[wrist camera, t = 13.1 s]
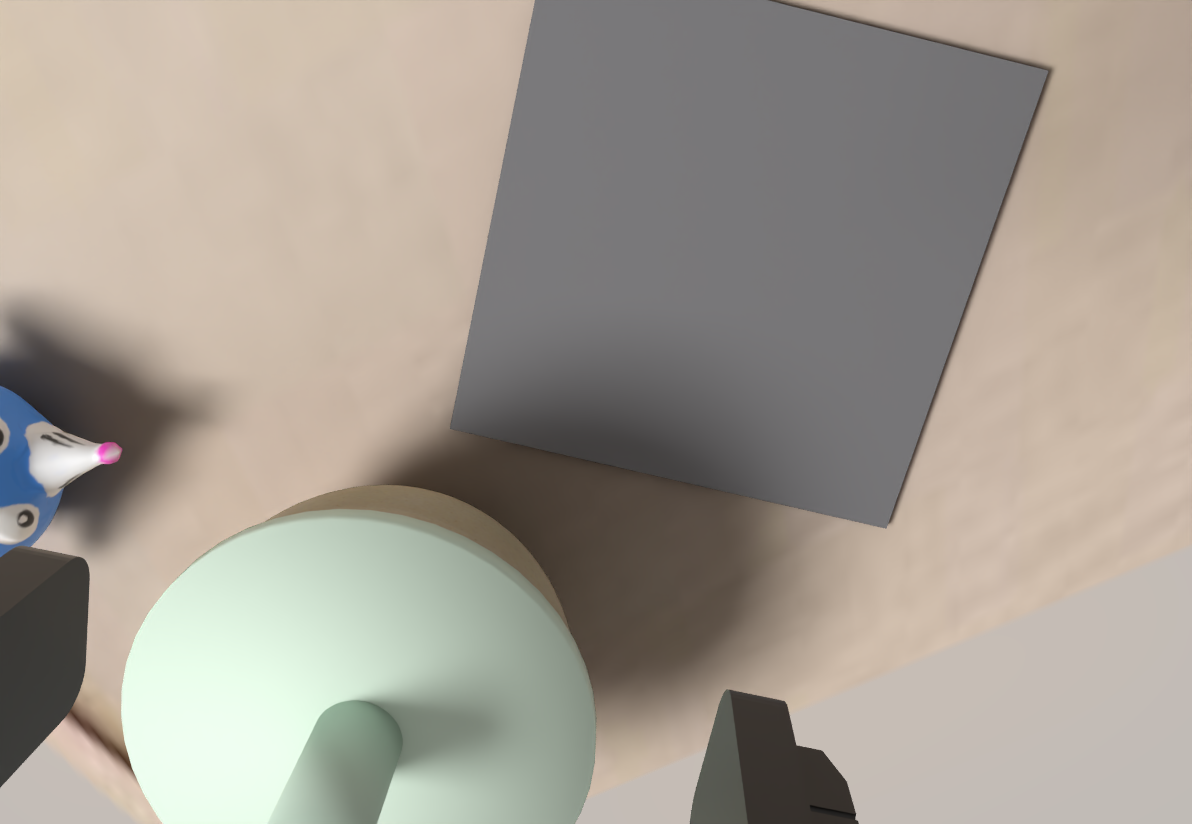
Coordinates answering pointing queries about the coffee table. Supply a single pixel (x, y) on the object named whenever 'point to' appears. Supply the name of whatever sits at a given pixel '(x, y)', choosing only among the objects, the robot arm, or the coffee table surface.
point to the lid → (357, 683)
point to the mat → (736, 244)
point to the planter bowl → (439, 523)
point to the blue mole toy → (37, 469)
